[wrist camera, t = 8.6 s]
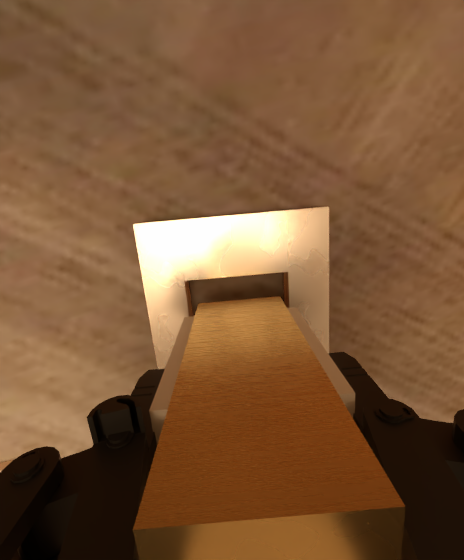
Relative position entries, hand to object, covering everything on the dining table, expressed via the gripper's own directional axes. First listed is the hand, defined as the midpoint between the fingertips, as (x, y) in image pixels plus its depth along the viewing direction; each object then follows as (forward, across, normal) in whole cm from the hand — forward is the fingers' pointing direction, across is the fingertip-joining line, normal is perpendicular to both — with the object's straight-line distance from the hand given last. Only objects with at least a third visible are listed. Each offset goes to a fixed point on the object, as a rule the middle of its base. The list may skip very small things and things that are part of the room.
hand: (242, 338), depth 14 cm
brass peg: (0, 0, 0) cm, 0 cm away
